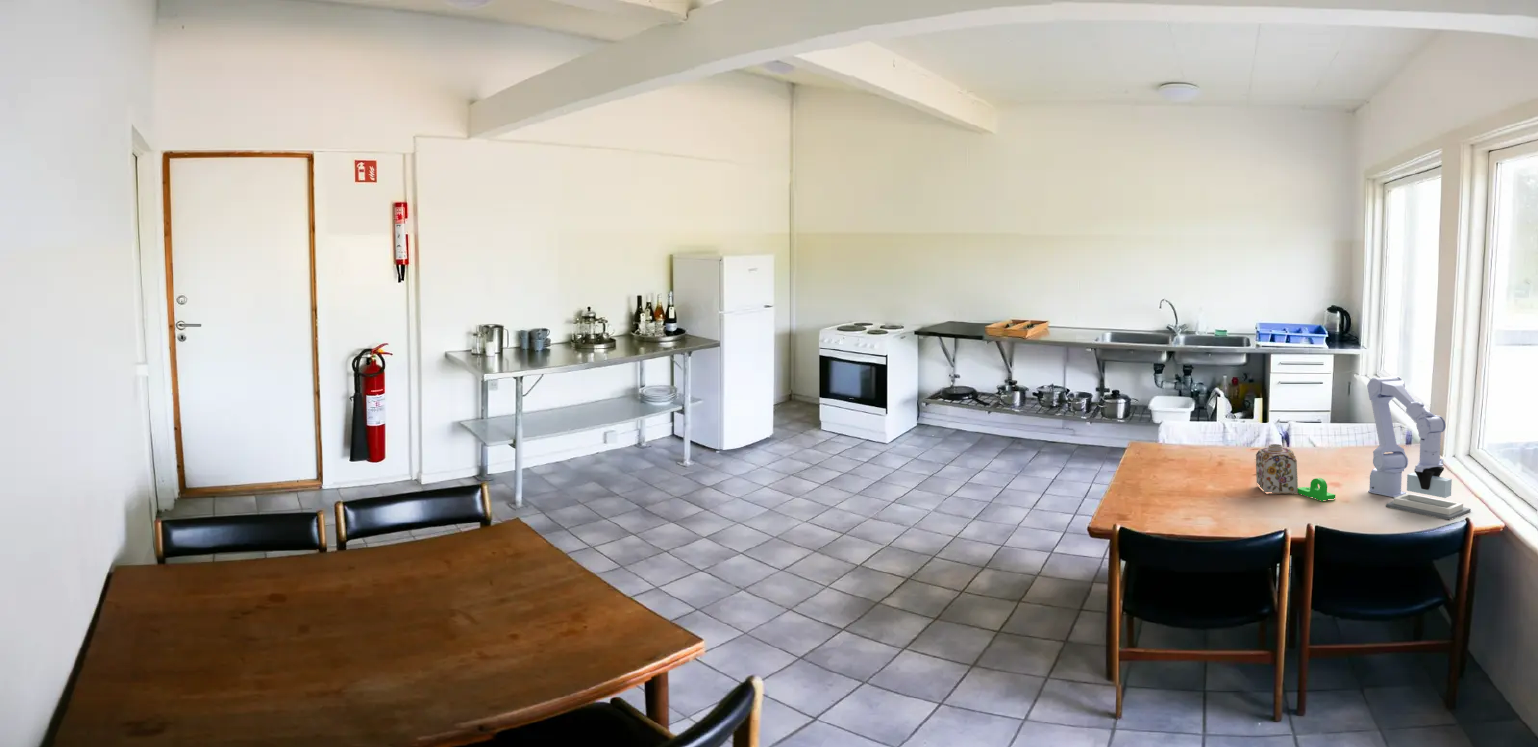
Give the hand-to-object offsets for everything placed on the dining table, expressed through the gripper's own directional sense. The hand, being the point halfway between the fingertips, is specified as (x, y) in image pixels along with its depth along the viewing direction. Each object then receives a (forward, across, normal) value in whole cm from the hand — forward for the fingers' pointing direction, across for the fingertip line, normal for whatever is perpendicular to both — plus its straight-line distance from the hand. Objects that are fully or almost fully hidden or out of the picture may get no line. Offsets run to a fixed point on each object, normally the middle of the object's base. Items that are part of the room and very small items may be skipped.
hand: (1428, 487), depth 313 cm
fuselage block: (+2, 0, 0) cm, 2 cm away
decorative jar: (+8, -16, +45) cm, 48 cm away
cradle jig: (+8, 0, 0) cm, 8 cm away
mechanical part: (+8, -13, +32) cm, 35 cm away
